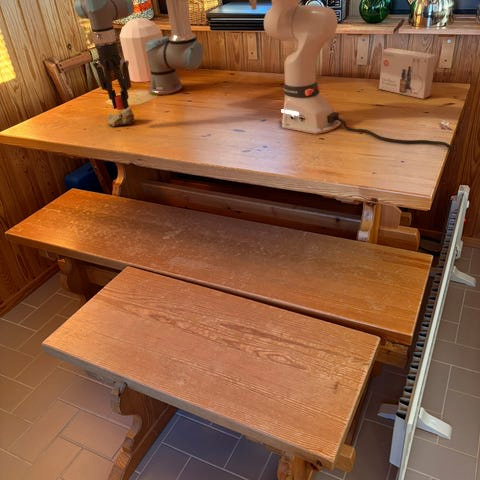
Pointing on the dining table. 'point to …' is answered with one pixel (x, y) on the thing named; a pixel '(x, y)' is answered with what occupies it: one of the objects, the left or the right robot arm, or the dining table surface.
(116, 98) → the can
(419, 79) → the skincare box
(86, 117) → the dining table surface
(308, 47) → the right robot arm
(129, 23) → the container
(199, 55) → the left robot arm
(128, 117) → the rock
